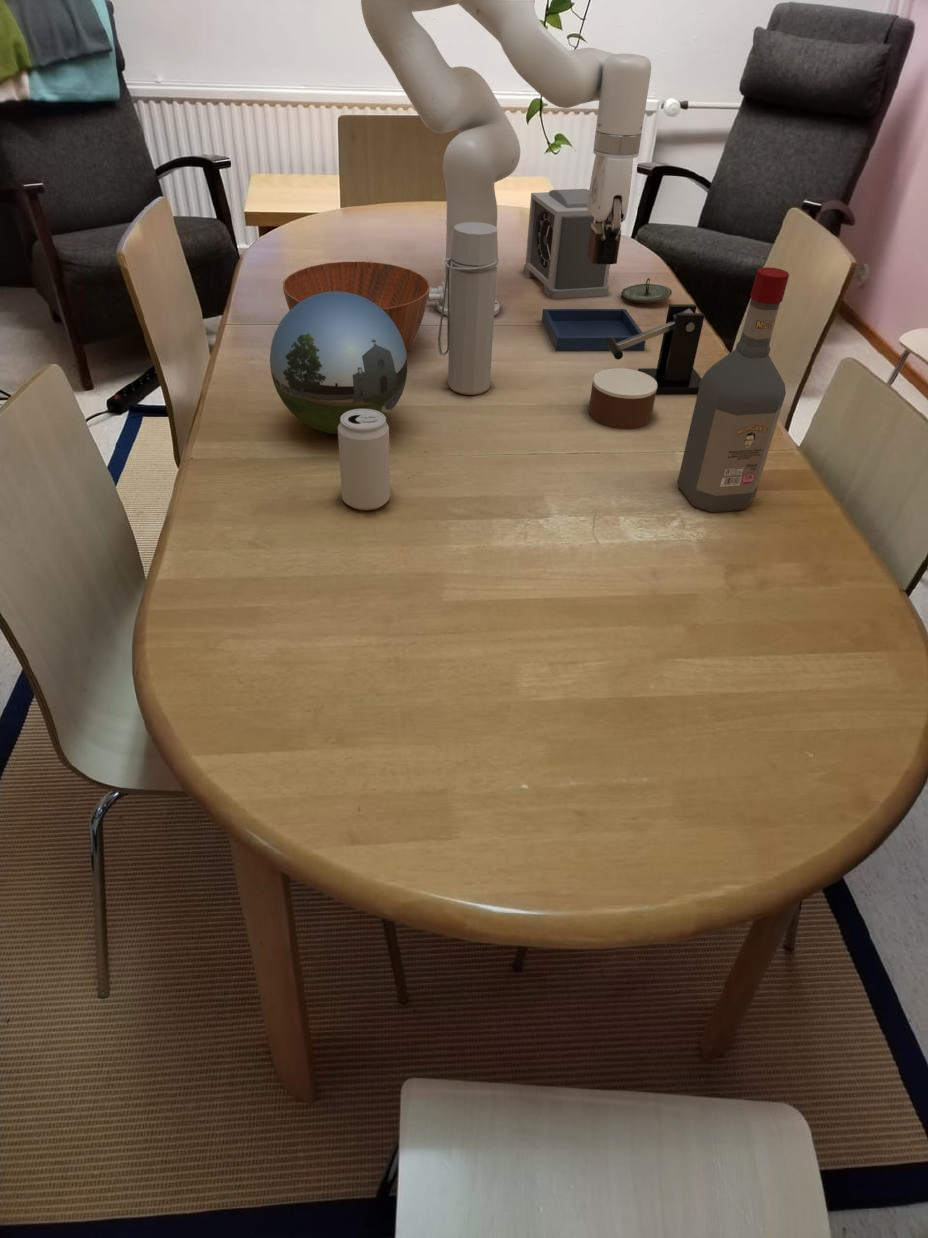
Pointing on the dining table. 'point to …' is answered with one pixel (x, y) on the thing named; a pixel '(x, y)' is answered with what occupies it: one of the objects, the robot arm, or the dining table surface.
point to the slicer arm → (640, 337)
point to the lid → (646, 293)
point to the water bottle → (470, 307)
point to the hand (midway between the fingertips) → (601, 257)
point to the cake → (622, 398)
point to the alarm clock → (563, 245)
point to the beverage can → (364, 458)
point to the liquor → (737, 410)
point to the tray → (589, 328)
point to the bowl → (367, 289)
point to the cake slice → (594, 239)
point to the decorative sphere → (337, 359)
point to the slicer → (678, 353)
